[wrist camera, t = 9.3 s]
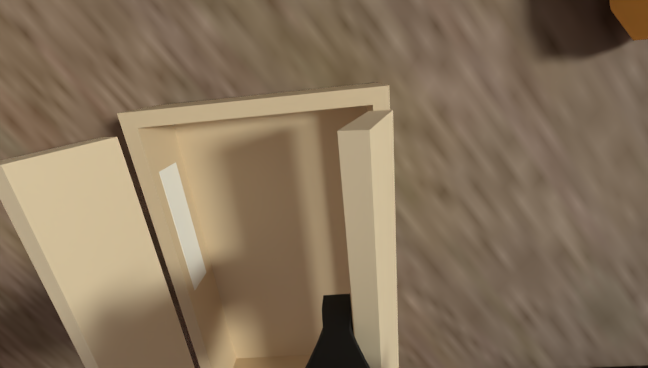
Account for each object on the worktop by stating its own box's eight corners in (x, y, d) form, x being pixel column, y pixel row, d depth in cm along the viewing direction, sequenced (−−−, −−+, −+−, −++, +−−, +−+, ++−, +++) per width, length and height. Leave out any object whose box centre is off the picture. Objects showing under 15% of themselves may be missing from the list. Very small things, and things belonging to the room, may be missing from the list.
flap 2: (368, 487, 12) (387, 496, 12) (337, 131, 7) (369, 129, 7) (383, 409, 15) (399, 415, 15) (368, 111, 10) (392, 109, 10)
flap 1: (0, 164, 8) (-18, 164, 8) (163, 500, 13) (148, 494, 13) (117, 136, 11) (101, 137, 11) (212, 421, 16) (200, 416, 16)
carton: (378, 82, 14) (389, 85, 11) (388, 352, 19) (397, 401, 16) (159, 104, 14) (116, 113, 11) (230, 360, 20) (213, 408, 17)
